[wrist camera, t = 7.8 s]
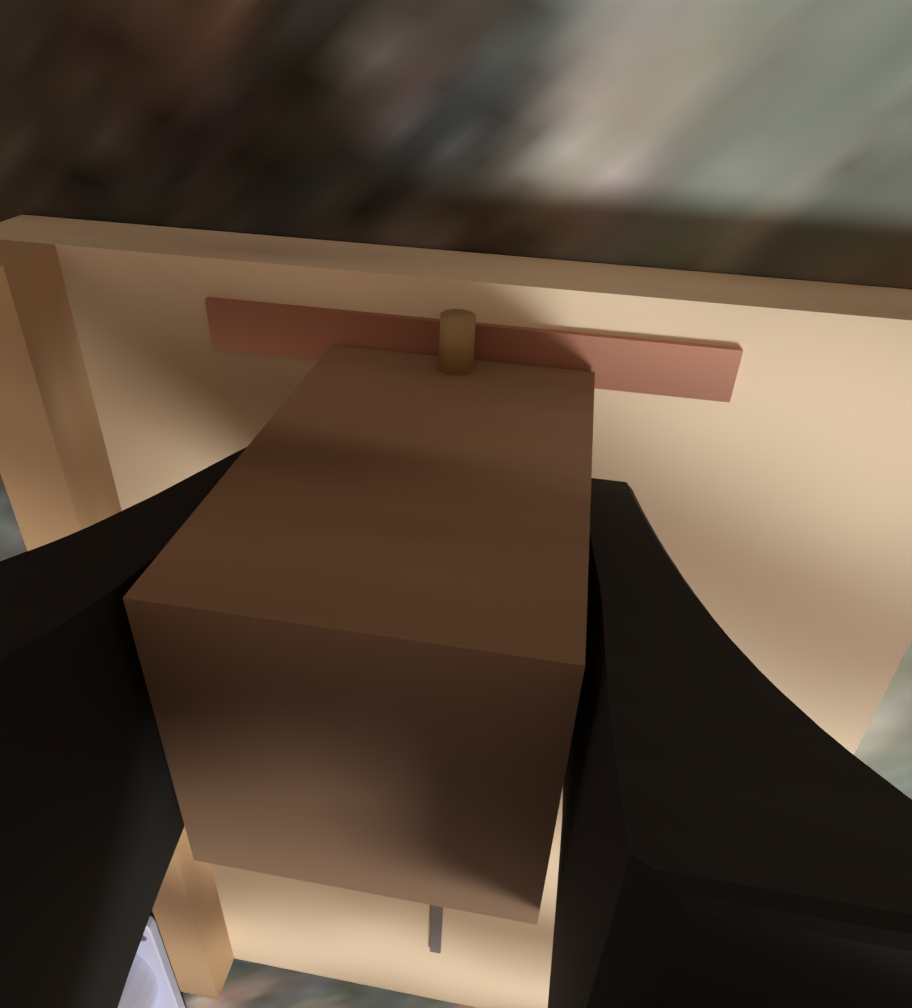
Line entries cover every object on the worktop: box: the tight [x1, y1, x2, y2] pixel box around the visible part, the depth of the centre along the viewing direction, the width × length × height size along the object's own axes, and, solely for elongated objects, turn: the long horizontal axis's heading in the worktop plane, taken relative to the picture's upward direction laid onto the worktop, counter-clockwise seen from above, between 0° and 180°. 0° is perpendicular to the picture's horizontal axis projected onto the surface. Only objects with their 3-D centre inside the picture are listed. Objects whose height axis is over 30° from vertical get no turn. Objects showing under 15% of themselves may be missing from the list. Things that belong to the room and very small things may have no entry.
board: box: [0, 215, 912, 1008], centre depth 17 cm, size 22×16×3 cm
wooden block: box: [123, 309, 595, 925], centre depth 10 cm, size 5×4×6 cm
